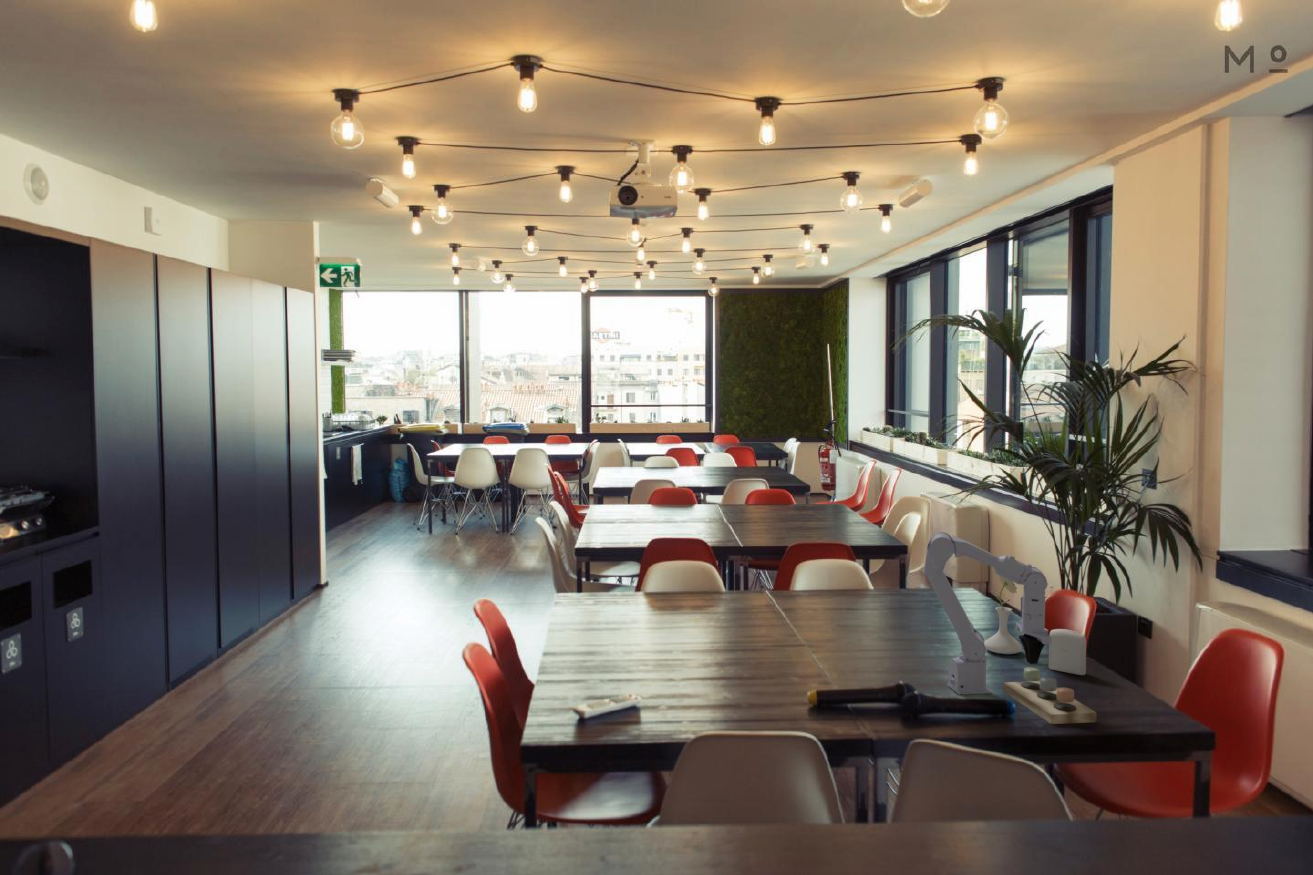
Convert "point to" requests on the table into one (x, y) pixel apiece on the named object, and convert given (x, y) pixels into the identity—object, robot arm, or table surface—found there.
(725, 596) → the table surface
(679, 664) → the table surface
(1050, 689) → the button slate
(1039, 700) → the button panel
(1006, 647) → the flower in vase
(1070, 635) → the photo printer
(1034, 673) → the button sage
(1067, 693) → the button terracotta
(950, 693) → the table surface
